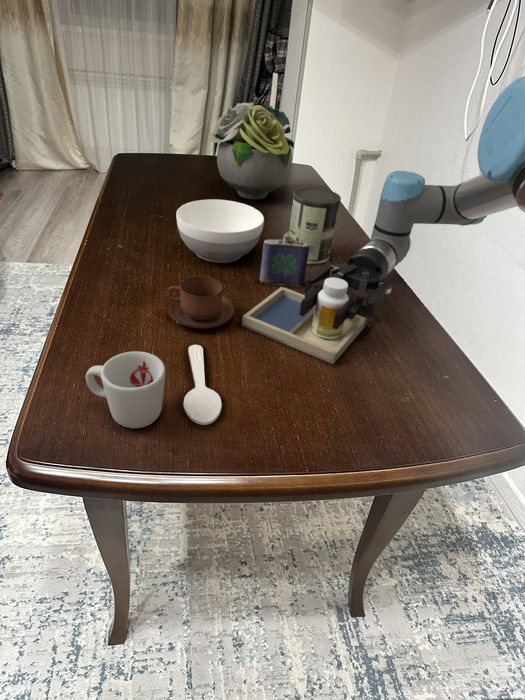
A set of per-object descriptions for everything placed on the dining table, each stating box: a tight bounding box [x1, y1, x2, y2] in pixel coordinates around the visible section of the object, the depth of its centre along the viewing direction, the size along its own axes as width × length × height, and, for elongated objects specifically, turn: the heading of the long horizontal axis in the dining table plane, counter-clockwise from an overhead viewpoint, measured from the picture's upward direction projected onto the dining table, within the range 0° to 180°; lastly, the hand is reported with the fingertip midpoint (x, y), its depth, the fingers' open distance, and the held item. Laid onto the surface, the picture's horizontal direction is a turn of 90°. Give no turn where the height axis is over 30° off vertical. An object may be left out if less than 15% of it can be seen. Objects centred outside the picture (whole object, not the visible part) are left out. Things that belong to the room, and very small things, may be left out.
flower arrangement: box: [208, 101, 295, 200], centre depth 136 cm, size 25×25×24 cm
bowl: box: [176, 199, 265, 264], centre depth 108 cm, size 19×19×9 cm
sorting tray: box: [241, 286, 367, 365], centre depth 88 cm, size 18×14×2 cm
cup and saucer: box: [166, 275, 236, 330], centre depth 87 cm, size 12×12×6 cm
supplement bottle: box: [312, 278, 350, 339], centre depth 84 cm, size 5×5×10 cm
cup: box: [85, 351, 166, 429], centre depth 65 cm, size 11×8×8 cm
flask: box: [259, 231, 309, 287], centre depth 99 cm, size 9×3×11 cm, turn 91°
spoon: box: [182, 344, 223, 426], centre depth 73 cm, size 5×18×1 cm, turn 11°
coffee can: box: [288, 186, 342, 265], centre depth 110 cm, size 10×10×14 cm
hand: (319, 315), depth 80 cm, fingers closed on supplement bottle, 5 cm apart
